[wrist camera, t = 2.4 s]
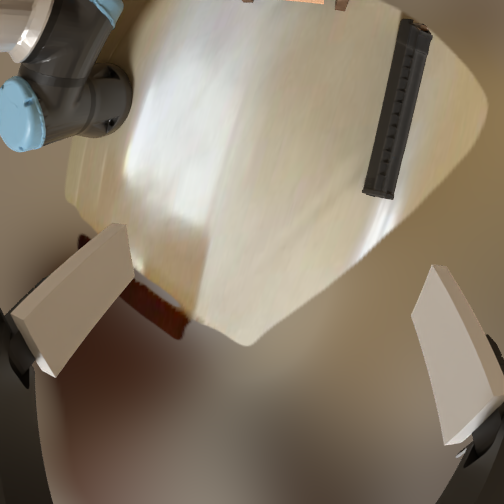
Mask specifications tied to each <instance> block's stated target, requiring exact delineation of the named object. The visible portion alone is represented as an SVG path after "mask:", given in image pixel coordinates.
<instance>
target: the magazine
mask: <svg viewBox="0 0 504 504" xmlns="http://www.w3.org/2000/svg"><path fill="white" fill-rule="evenodd" d="M432 37H433V35H431V33H430V31H429V28H428V27H427V26H426V25H424V24H419V23H413V20H411V19H402V20H401V23H400V27H399V32H398V36H397V42H396V47H395V51H394V56H393V61H392V65H391V70H390V74H389V79H388V83H387V88H386V92H385V97H384V101H383V106H382V110H381V115H380V119H379V124H378V128H377V133H376V137H375V142H374V146H373V151H372V155H371V159H370V164H369V168H368V172H367V176H366V180H365V184H364V188H363V190H362V193H366V195H370V196H373V197H375V196H376V197H380V198H385V199H391V200H393V199H394V192H395V188H396V183H397V179H398V175H399V170H400V166H401V162H402V158H403V154H404V151H405V147H406V143H407V138H408V134H409V130H410V126H411V122H412V117H413V113H414V109H415V104H416V100H417V96H418V92H419V87H420V83H421V79H422V75H423V70H424V66H425V62H426V58H427V55H428V51H429V46H430V42H431V40H432Z"/></svg>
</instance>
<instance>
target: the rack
mask: <svg viewBox="0 0 504 504" xmlns="http://www.w3.org/2000/svg"><path fill="white" fill-rule="evenodd" d="M242 1H243V2H252V3H253V0H242ZM348 1H349V0H336V2H335V10H340V11H345V9H346V6H347V4H348Z"/></svg>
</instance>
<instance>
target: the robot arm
mask: <svg viewBox="0 0 504 504" xmlns="http://www.w3.org/2000/svg"><path fill="white" fill-rule="evenodd" d="M123 7H124V6H123V1H122V0H0V52H8V53H9V54H10V56H11V58H12V59H13V61H14V62H16V63H21V66H20V69H19V72H18V75H17V76H14V77H12V78H10V79H8V80H7V81H5V83H4V85H2V86H1V88H0V135H1V137H2V139H3V141H4V142H5V143H6V145H7V146H8V147H9V148H10V149H12V150H14V151H17V152H25V151H28V150H32V149H38V148H40V147H42V146H45V145H48V144H50V143H53V142H56V141H59V140H62V139H65V138H68V137H71V136H74V135H78V136H83V137H89V138H99V137H103V136H106V135H109V134H111V133H113V132H115V131H116V130H117V129H118V128H119V127H120V126H121V125H122V124H123V123H124V121H125V119H126V118H127V116H128V113H129V110H130V107H131V101H132V89H131V84H130V81H129V79H128V77H127V75H126V73H125V72H124V71H123V70H122V69H121V68H120V67H118V66H116V65H114V64H110V63H97V64H95V62H96V59H97V57H98V55H99V53H100V51H101V49H102V47H103V45H104V43H105V42H106V40H107V38H108V36H109V34H110V32H111V31H112V30H113V29H114V28H115V24H116V22H117V20H118V18H119V16H120V14H121V12H122V11H123ZM134 277H135V275H134V270H133V265H132V259H131V253H130V247H129V241H128V234H127V228H126V224H117V223H112V224H111V225H109V226H108V227H107V228H105V229H104V230H103V231H102V232H100V233H99V234H98V235H97V236H96V237H94V238H93V239H92V240H90V241H89V242H88V243H87V244H86V245H84V246H83V247H82V248H81V249H80V250H78V251H77V252H76V253H75V254H74V255H72V256H71V257H70V258H69V259H68V260H67V261H66V262H65V263H63V264H62V265H61V266H60V267H59V268H58V269H56V270H55V271H54V272H53V273H52V274H50V275H49V276H47V277H45V278H43V279H42V280H41V281H40V282H39V283H38V284H37V285H36V286H35V288H32V289H31V290H30V291H29V292H28V294H26V295H25V296H24V297H23V298H22V299H21V300H20V301H19V302H18V303H17V304H16V305H15V306H14V307H13V308H12V309H11V310H10V311H9V312H8V313H7V314H6V315H5V316H4V315H3V313H2V310H1V308H0V504H53V502H52V498H51V494H50V490H49V486H48V482H47V477H46V472H45V467H44V462H43V457H42V451H41V444H40V437H39V430H38V421H37V411H36V395H35V371H34V368H33V366H32V363H33V362H34V361H35V360H36V361H37V363H38V365H39V366H40V368H41V370H42V371H44V372H46V373H48V374H50V375H52V376H53V377H55V378H56V377H57V375H58V374H59V373H60V371H61V370H62V368H63V367H64V366H65V364H66V363H67V361H68V360H69V359H70V357H71V356H72V355H73V353H74V352H75V351H76V349H77V348H78V347H79V345H80V344H81V343H82V341H83V340H84V338H85V337H86V336H87V335H88V333H89V332H90V331H91V330H92V328H93V327H94V326H95V324H96V323H97V322H98V321H99V319H100V318H101V317H102V316H103V314H104V313H105V312H106V311H107V309H108V308H109V307H110V306H111V304H112V303H113V302H114V301H115V299H116V298H117V297H118V296H119V295H120V293H121V292H122V291H123V290H124V289H125V287H126V286H127V285H128V284H129V283H130V281H131V280H132V279H133V278H134ZM411 317H412V320H413V323H414V326H415V329H416V332H417V335H418V338H419V342H420V345H421V348H422V352H423V355H424V358H425V362H426V366H427V369H428V373H429V377H430V380H431V385H432V389H433V393H434V397H435V401H436V406H437V410H438V414H439V420H440V425H441V430H442V435H443V441H444V445H450V444H455V443H461V442H463V441H464V440H465V439H466V438H467V437H468V436H470V434H472V436H473V441H472V442H471V443H470V444H469V445H468V446H466V447H465V448H464V449H463V450H461V451H460V452H459V453H458V454H457V456H456V457H457V458H458V457H460V456H461V455H462V454H464V453H465V454H464V456H463V457H462V459H461V461H460V463H459V465H458V467H457V469H456V471H455V473H454V474H453V476H452V478H451V480H450V481H449V483H448V485H447V486H446V488H445V490H444V491H443V493H442V495H441V496H440V498H439V499H438V501H437V502H436V504H504V359H503V357H501V355H502V354H501V352H500V350H499V348H498V346H497V344H496V343H495V342H494V341H493V339H491V337H490V336H489V335H486V334H485V333H484V331H483V329H482V328H481V326H480V324H479V322H478V320H477V318H476V316H475V314H474V312H473V311H472V309H471V307H470V305H469V303H468V302H467V300H466V298H465V296H464V295H463V293H462V291H461V289H460V288H459V286H458V285H457V283H456V281H455V279H454V278H453V276H452V275H451V273H450V271H449V270H448V268H447V267H446V266H440V265H433V264H432V266H431V268H430V271H429V274H428V276H427V279H426V281H425V284H424V286H423V289H422V291H421V294H420V296H419V298H418V301H417V303H416V305H415V308H414V310H413V312H412V314H411Z"/></svg>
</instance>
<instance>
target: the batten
mask: <svg viewBox="0 0 504 504" xmlns="http://www.w3.org/2000/svg"><path fill="white" fill-rule="evenodd" d="M288 1H300V2H309V3H317V4H324V0H288Z"/></svg>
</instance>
